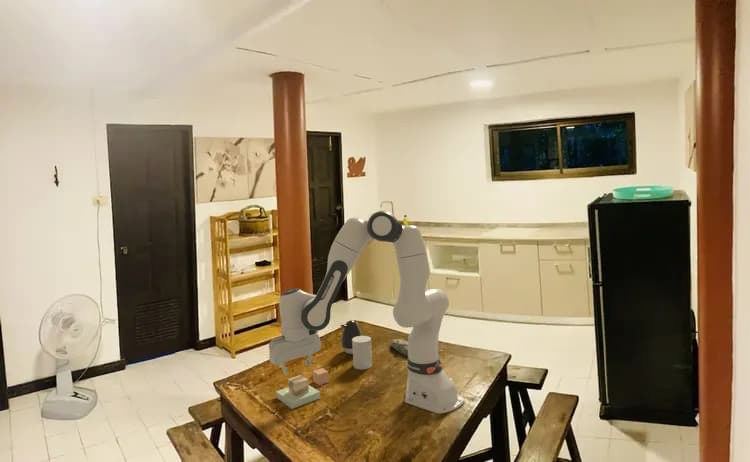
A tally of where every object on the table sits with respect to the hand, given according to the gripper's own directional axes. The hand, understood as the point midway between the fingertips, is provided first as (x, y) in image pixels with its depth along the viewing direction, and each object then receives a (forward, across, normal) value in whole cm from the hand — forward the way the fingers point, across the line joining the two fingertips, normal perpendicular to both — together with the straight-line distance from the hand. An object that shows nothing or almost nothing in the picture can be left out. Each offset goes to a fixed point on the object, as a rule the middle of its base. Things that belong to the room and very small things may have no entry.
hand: (297, 368), depth 180 cm
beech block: (+9, 0, +1) cm, 9 cm away
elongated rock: (+13, +60, 0) cm, 61 cm away
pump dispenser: (+12, +43, +24) cm, 50 cm away
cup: (+12, +36, +8) cm, 39 cm away
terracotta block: (+12, +14, +7) cm, 20 cm away
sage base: (+12, 0, +2) cm, 12 cm away
